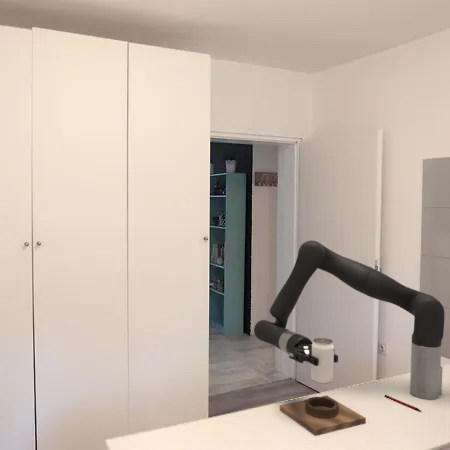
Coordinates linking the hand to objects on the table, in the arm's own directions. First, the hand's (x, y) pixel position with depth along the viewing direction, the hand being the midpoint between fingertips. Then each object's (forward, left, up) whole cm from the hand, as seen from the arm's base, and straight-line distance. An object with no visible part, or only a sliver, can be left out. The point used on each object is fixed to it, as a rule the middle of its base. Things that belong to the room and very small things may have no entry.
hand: (327, 360), depth 146 cm
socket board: (0, -2, -18) cm, 18 cm away
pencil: (-29, +2, -18) cm, 34 cm away
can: (0, -2, -7) cm, 7 cm away
